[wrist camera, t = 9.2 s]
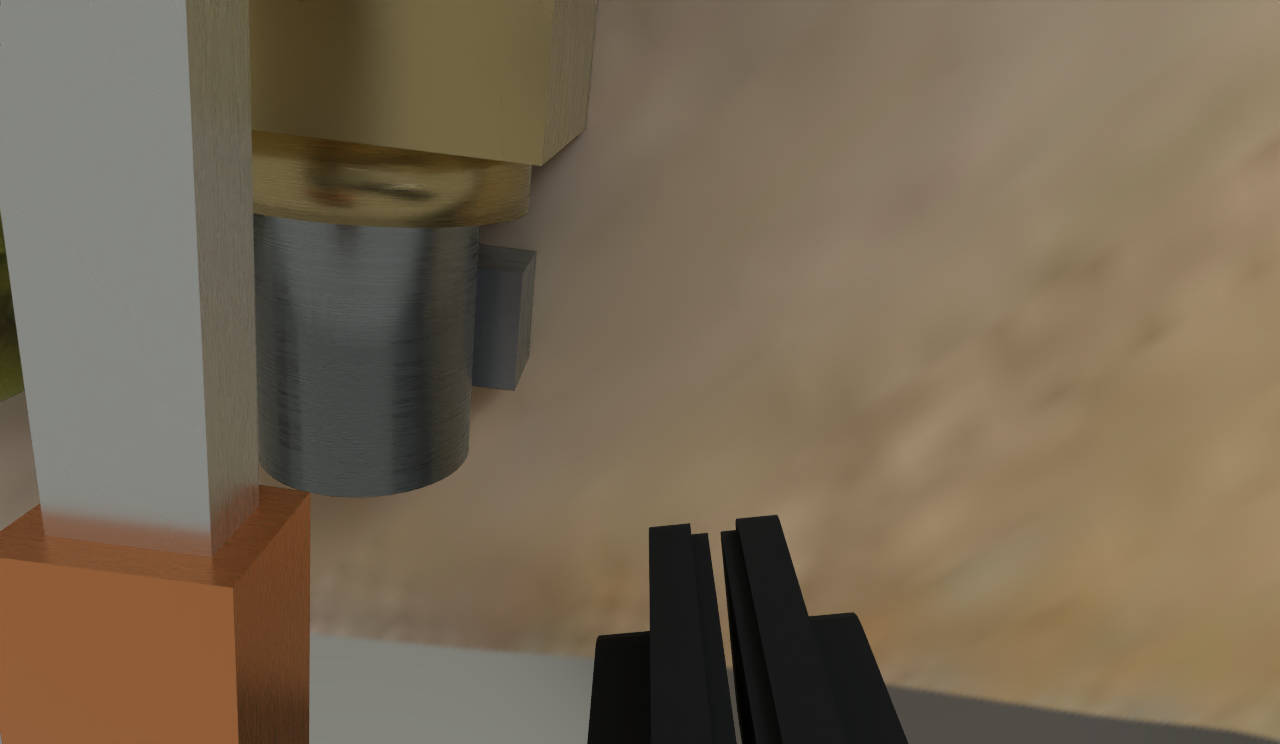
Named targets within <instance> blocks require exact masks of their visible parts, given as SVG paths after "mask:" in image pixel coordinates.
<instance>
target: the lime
mask: <svg viewBox="0 0 1280 744" xmlns="http://www.w3.org/2000/svg"><path fill="white" fill-rule="evenodd" d="M24 389H25V388H24V380H23V373H22V366H21V358H20V351H19V344H18V336H17V329H16V321H15V314H14V307H13V299H12V292H11V285H10V277H9V270H8V263H7V255H6V248H5V240H4V233H3V226H2V218H1V211H0V402H1V401H3V400H5V399H7V398H9V397H12V396H14V395H16V394H18V393H20V392H22V391H23V390H24Z"/></svg>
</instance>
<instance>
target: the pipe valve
mask: <svg viewBox="0 0 1280 744" xmlns="http://www.w3.org/2000/svg"><path fill="white" fill-rule="evenodd" d="M597 1H598V0H249V46H250V94H251V141H252V188H253V235H254V283H255V330H256V377H257V425H258V445H259V460H260V463H261V465H262V467H263V468H264V470H265V471H266V472H267V473H268V474H269V475H270V476H272V477H273V478H274V479H276V480H278V481H279V482H281V483H283V484H285V485H288V486H290V487H292V488H295V489H299V490H302V491H306V492H310V493H314V494H320V495H327V496H336V497H376V496H385V495H393V494H398V493H403V492H408V491H412V490H415V489H419V488H422V487H425V486H428V485H431V484H433V483H435V482H438V481H440V480H442V479H444V478H445V477H447V476H449V475H450V474H452V473H453V472H454V471H456V470H457V469H458V468H459V467H460V466H461V465H462V464H463V462H464V461H465V459H466V458H467V455H468V451H469V430H470V409H471V388H472V386H478V387H487V388H496V389H505V390H513V391H515V388H516V386H517V384H518V381H519V379H520V376H521V374H522V372H523V369H524V367H525V364H526V362H527V359H528V357H529V344H530V331H531V317H532V304H533V291H534V277H535V264H536V251H530V250H521V249H513V248H505V247H496V246H488V245H480V244H478V242H479V225H488V224H495V223H501V222H506V221H510V220H514V219H517V218H520V217H522V216H524V215H525V214H527V212H528V210H529V200H530V185H531V171H532V165H538V166H542V165H543V164H545V163H546V162H547V161H548V160H549V159H551V158H552V157H553V156H554V155H555V154H556V153H558V152H559V151H560V150H561V149H562V148H564V147H565V146H566V145H567V144H568V143H570V142H571V141H572V140H573V139H574V138H575V137H577V136H578V135H579V134H580V133H581V132H583V131H584V130H585V129H586V120H587V109H588V98H589V87H590V77H591V66H592V55H593V44H594V33H595V22H596V12H597Z"/></svg>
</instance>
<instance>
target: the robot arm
mask: <svg viewBox="0 0 1280 744" xmlns="http://www.w3.org/2000/svg"><path fill="white" fill-rule="evenodd" d="M721 543H722V554H723V565H724V576H725V587H726V597H727V608H728V619H729V630H730V641H731V651H732V662H733V672H734V684H735V694H736V703H737V712H738V719H739V726H740V733H741V739H742V744H908V742H907V739H906V736H905V734H904V732H903V729H902V726H901V724H900V721H899V719H898V717H897V714H896V711H895V709H894V706H893V704H892V701H891V698H890V696H889V693H888V691H887V688H886V686H885V683H884V681H883V678H882V676H881V673H880V671H879V668H878V665H877V663H876V660H875V658H874V655H873V653H872V650H871V648H870V645H869V643H868V640H867V638H866V635H865V633H864V630H863V627H862V625H861V623H860V621H859V619H858V617H857V615H856V614H855V613H854V612H852V613H841V614H831V615H820V616H808V613H807V609H806V606H805V603H804V600H803V596H802V593H801V590H800V586H799V583H798V580H797V576H796V573H795V570H794V567H793V563H792V560H791V557H790V553H789V550H788V547H787V543H786V540H785V537H784V534H783V530H782V527H781V524H780V520H779V518H778V516H777V515H771V516H760V517H750V518H740V519H736V530H732V531H722V532H721ZM649 581H650V631H645V632H634V633H623V634H612V635H601V636H598V638H597V642H596V649H595V661H594V672H593V685H592V696H591V709H590V720H589V731H588V743H587V744H737V743H736V736H735V728H734V721H733V714H732V706H731V699H730V692H729V685H728V677H727V670H726V663H725V656H724V648H723V641H722V634H721V627H720V619H719V612H718V605H717V598H716V590H715V583H714V576H713V569H712V561H711V554H710V547H709V540H708V533H701V534H691V528H690V523H689V524H679V525H668V526H658V527H650V528H649Z"/></svg>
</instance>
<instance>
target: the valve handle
mask: <svg viewBox="0 0 1280 744" xmlns="http://www.w3.org/2000/svg"><path fill="white" fill-rule="evenodd" d="M0 211H1V218H2V226H3V233H4V240H5V248H6V255H7V263H8V270H9V277H10V285H11V292H12V299H13V307H14V314H15V321H16V329H17V336H18V344H19V351H20V358H21V366H22V373H23V380H24V388H25V395H26V402H27V410H28V417H29V424H30V432H31V439H32V447H33V454H34V461H35V469H36V476H37V483H38V491H39V498H40V504H39V505H37V506H36V507H34V508H33V509H31V510H30V511H29V512H27V513H26V514H24V515H23V516H21V517H20V518H19V519H17V520H16V521H14V522H13V523H12V524H10V525H9V526H7V527H6V528H4V529H3V530H2V531H0V734H1V739H2V744H309V651H310V648H309V647H310V645H309V644H310V641H309V640H310V492H306V491H299V490H292V489H284V488H277V487H269V486H262V485H259V472H258V425H257V377H256V330H255V283H254V235H253V188H252V141H251V94H250V46H249V0H0Z"/></svg>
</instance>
